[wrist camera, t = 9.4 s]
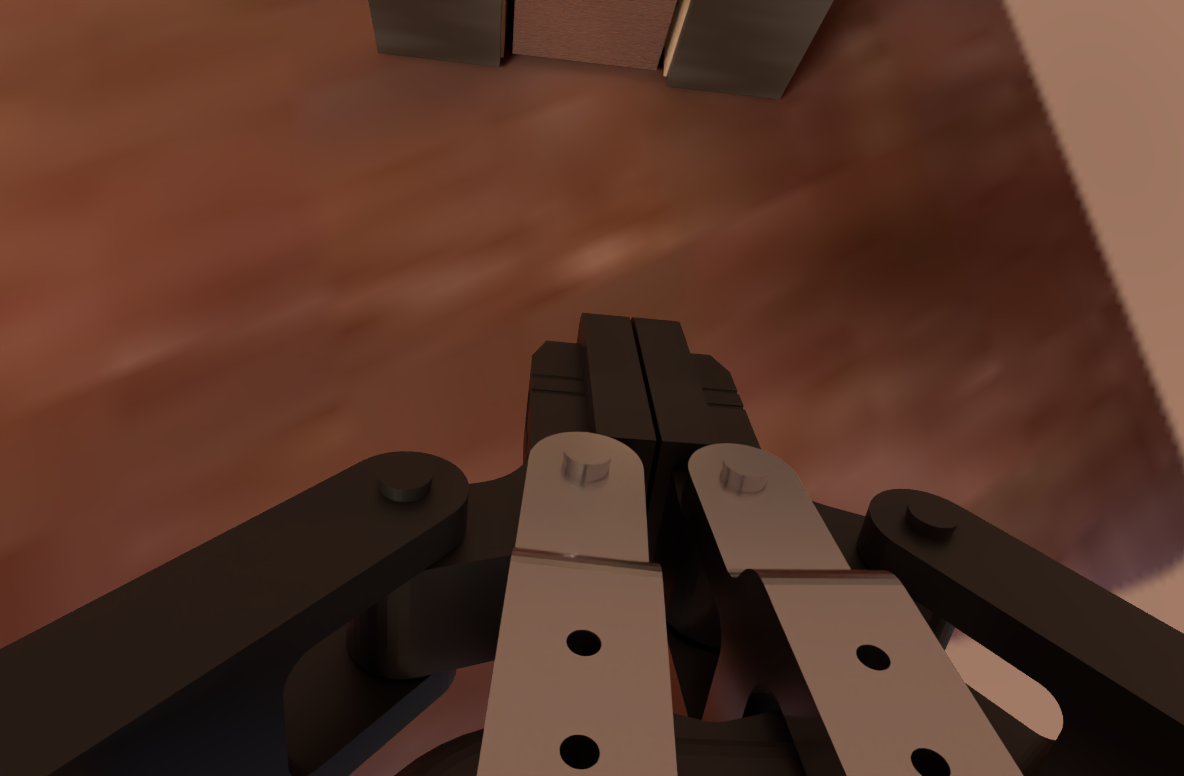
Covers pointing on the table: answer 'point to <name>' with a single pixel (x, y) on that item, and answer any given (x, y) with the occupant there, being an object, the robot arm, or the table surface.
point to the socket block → (691, 50)
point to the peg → (593, 30)
